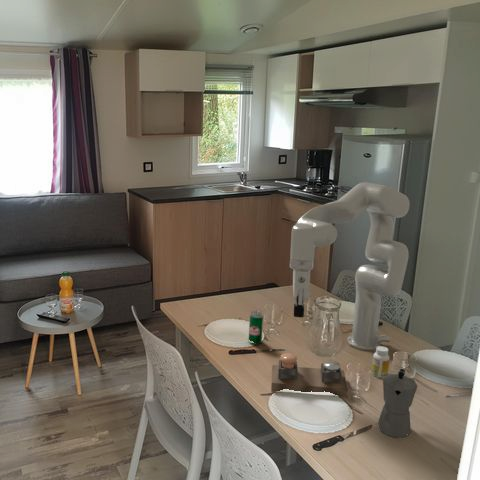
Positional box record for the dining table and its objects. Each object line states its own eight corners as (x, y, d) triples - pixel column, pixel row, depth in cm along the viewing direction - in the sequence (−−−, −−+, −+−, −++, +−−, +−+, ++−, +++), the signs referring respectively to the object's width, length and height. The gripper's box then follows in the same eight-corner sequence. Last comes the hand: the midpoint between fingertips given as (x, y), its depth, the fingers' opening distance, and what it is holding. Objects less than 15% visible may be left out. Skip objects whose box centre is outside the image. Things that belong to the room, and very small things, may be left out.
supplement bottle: (387, 372, 187) (390, 346, 184) (387, 379, 182) (390, 353, 179) (371, 369, 188) (374, 344, 186) (370, 376, 183) (374, 350, 181)
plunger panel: (342, 378, 181) (344, 361, 179) (347, 397, 170) (348, 378, 168) (272, 372, 183) (273, 355, 181) (271, 391, 171) (272, 372, 169)
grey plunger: (337, 374, 177) (338, 361, 176) (339, 382, 172) (340, 368, 171) (321, 373, 177) (323, 359, 176) (322, 380, 172) (324, 367, 171)
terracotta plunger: (295, 367, 178) (296, 354, 176) (295, 374, 173) (296, 361, 171) (279, 365, 178) (280, 352, 177) (279, 373, 173) (280, 360, 172)
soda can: (246, 343, 204) (248, 314, 201) (251, 338, 208) (252, 309, 205) (259, 345, 202) (261, 316, 199) (263, 340, 207) (265, 311, 204)
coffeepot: (408, 446, 147) (417, 387, 142) (373, 437, 150) (381, 379, 145) (413, 416, 161) (420, 362, 156) (381, 409, 164) (387, 355, 159)
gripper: (315, 271, 163) (311, 326, 168) (312, 256, 177) (308, 307, 182) (290, 270, 163) (287, 325, 168) (289, 255, 178) (286, 306, 183)
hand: (298, 316), depth 175 cm, fingers closed
